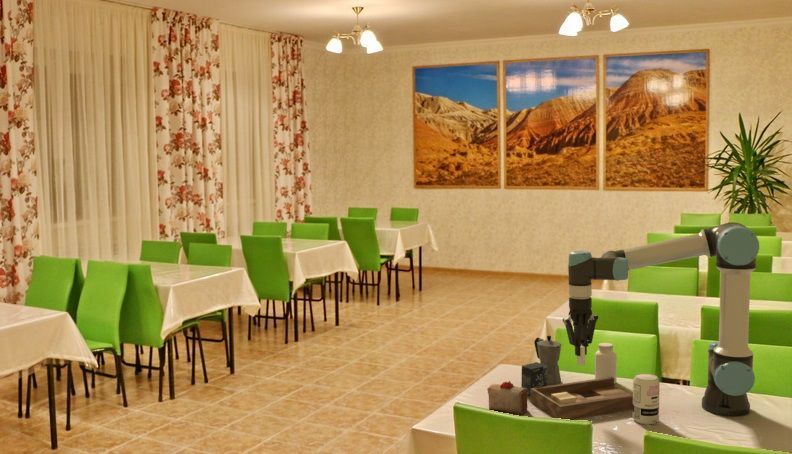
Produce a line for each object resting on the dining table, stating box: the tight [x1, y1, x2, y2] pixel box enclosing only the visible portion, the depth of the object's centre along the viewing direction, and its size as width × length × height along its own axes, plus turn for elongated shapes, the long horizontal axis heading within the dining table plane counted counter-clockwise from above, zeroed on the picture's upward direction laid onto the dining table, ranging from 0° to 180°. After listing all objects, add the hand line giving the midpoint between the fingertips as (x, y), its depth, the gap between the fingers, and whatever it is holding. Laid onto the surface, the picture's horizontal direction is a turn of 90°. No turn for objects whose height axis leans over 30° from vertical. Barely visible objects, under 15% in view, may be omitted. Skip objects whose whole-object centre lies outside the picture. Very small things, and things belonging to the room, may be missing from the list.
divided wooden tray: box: [530, 377, 633, 420], centre depth 259 cm, size 20×34×5 cm, turn 109°
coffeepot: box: [533, 335, 562, 386], centre depth 285 cm, size 15×9×18 cm, turn 26°
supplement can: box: [632, 373, 661, 426], centre depth 242 cm, size 8×8×15 cm
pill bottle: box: [594, 342, 618, 385], centre depth 281 cm, size 8×8×15 cm
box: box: [521, 361, 548, 397], centre depth 272 cm, size 8×6×11 cm
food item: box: [487, 380, 528, 416], centre depth 255 cm, size 14×8×10 cm, turn 61°
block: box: [551, 392, 576, 405], centre depth 251 cm, size 6×6×4 cm
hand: (581, 364), depth 252 cm, fingers closed
